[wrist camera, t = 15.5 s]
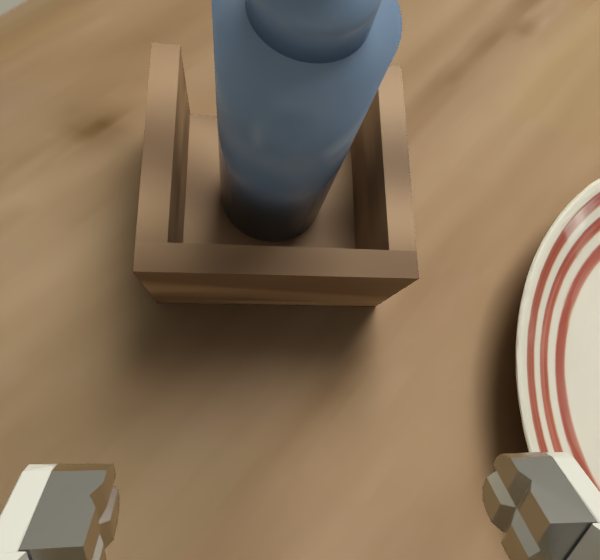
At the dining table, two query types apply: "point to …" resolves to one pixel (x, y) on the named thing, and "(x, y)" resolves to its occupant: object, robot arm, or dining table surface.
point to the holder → (260, 254)
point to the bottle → (293, 101)
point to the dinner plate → (563, 338)
